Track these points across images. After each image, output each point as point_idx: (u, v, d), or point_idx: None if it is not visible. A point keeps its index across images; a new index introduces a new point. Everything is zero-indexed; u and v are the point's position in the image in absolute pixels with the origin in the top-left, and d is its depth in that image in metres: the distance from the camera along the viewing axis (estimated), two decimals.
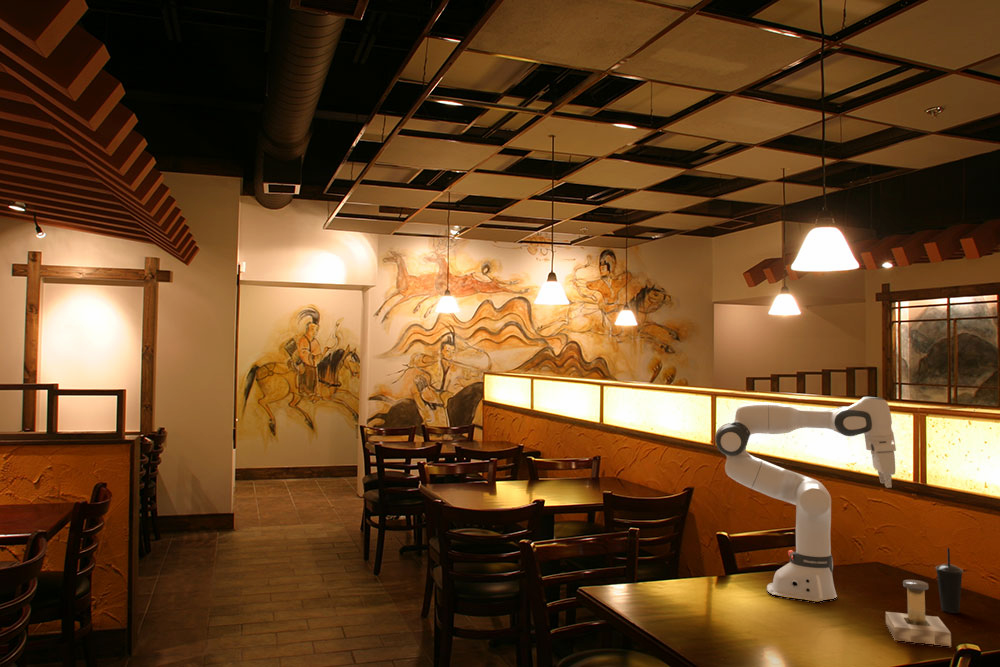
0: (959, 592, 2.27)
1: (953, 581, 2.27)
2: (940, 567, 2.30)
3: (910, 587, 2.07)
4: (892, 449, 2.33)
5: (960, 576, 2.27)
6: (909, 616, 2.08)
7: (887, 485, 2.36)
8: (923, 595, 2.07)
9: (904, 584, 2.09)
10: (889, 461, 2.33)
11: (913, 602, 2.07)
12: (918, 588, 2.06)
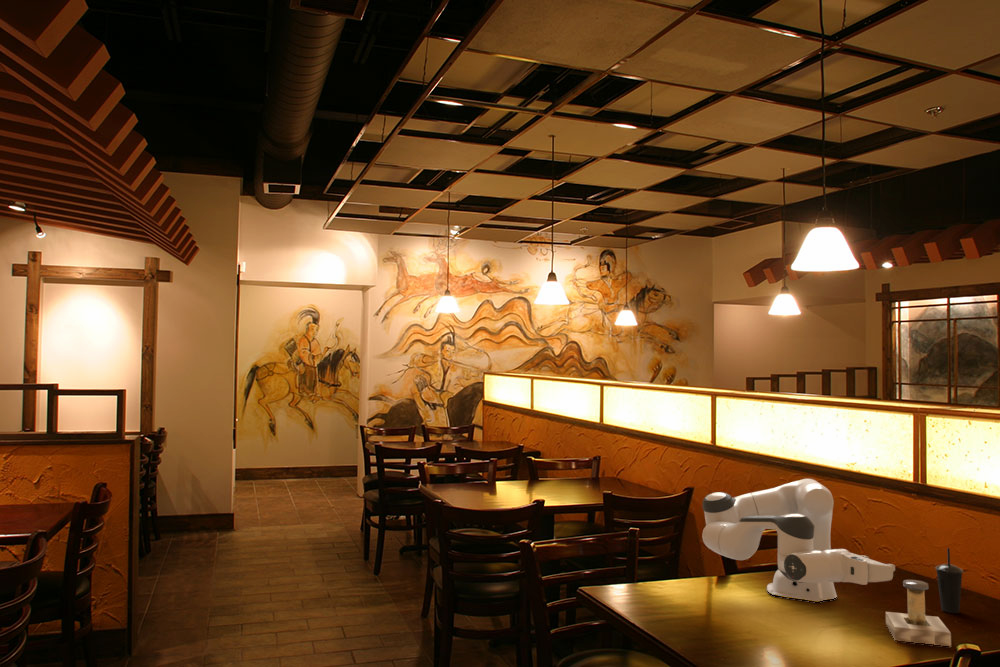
0: (959, 592, 2.27)
1: (953, 581, 2.27)
2: (940, 567, 2.30)
3: (910, 587, 2.07)
4: (866, 565, 1.94)
5: (960, 576, 2.27)
6: (909, 616, 2.08)
7: (893, 569, 2.00)
8: (923, 595, 2.07)
9: (904, 584, 2.09)
10: (880, 571, 1.94)
11: (913, 602, 2.07)
12: (918, 588, 2.06)
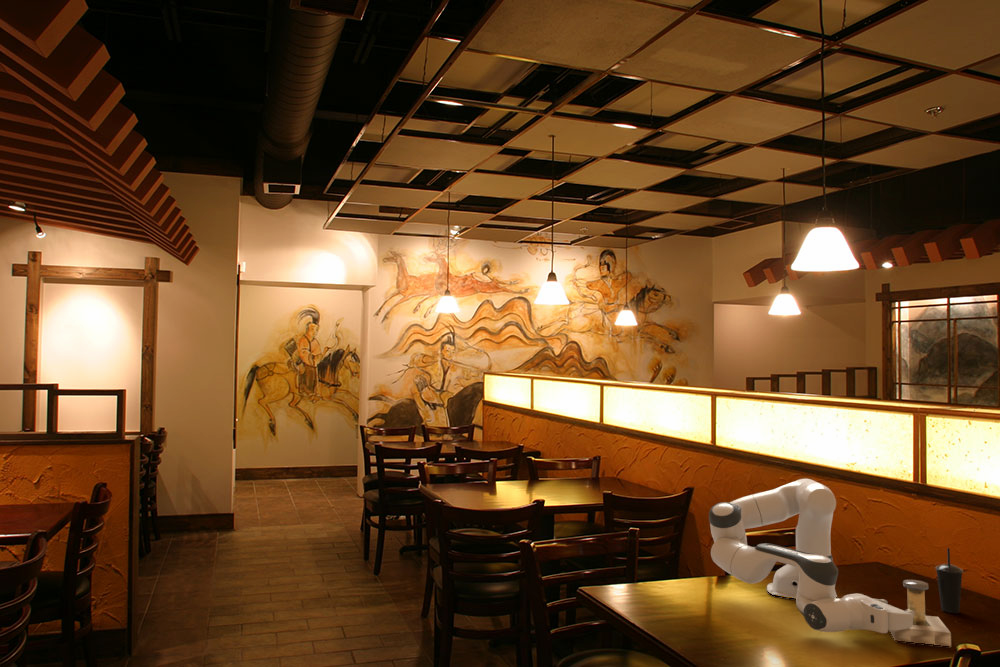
0: (959, 592, 2.27)
1: (953, 581, 2.27)
2: (940, 567, 2.30)
3: (910, 587, 2.07)
4: (886, 613, 1.95)
5: (960, 576, 2.27)
6: None
7: (912, 615, 2.01)
8: (923, 595, 2.07)
9: (904, 584, 2.09)
10: (900, 619, 1.94)
11: (913, 602, 2.07)
12: (918, 588, 2.06)
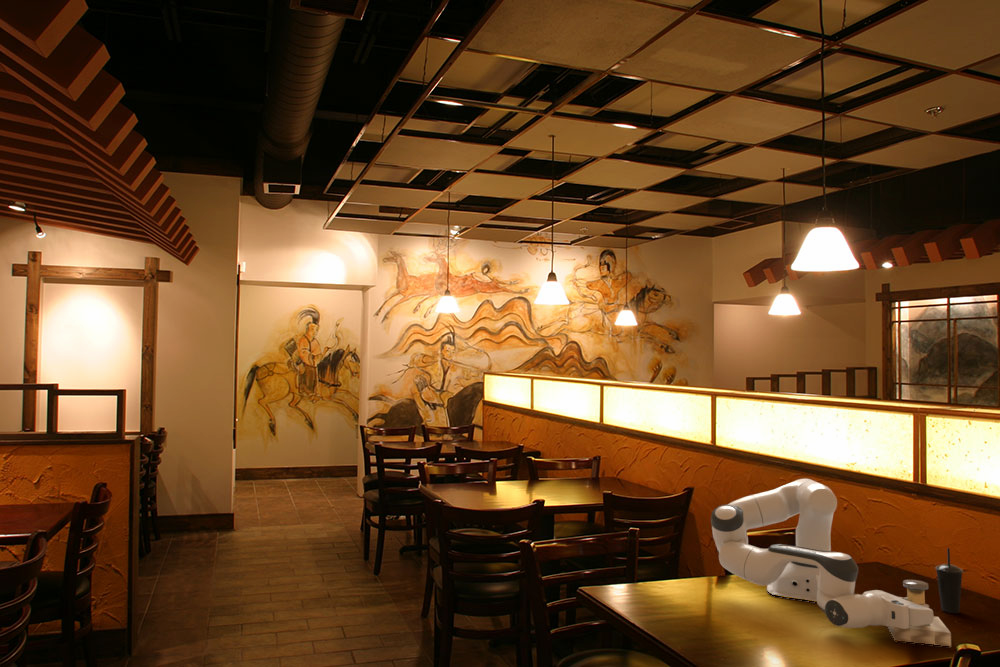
0: (959, 592, 2.27)
1: (953, 581, 2.27)
2: (940, 567, 2.30)
3: (910, 587, 2.07)
4: (907, 609, 1.97)
5: (960, 576, 2.27)
6: None
7: None
8: (923, 595, 2.07)
9: (904, 584, 2.09)
10: (921, 615, 1.97)
11: (913, 602, 2.07)
12: (918, 588, 2.06)
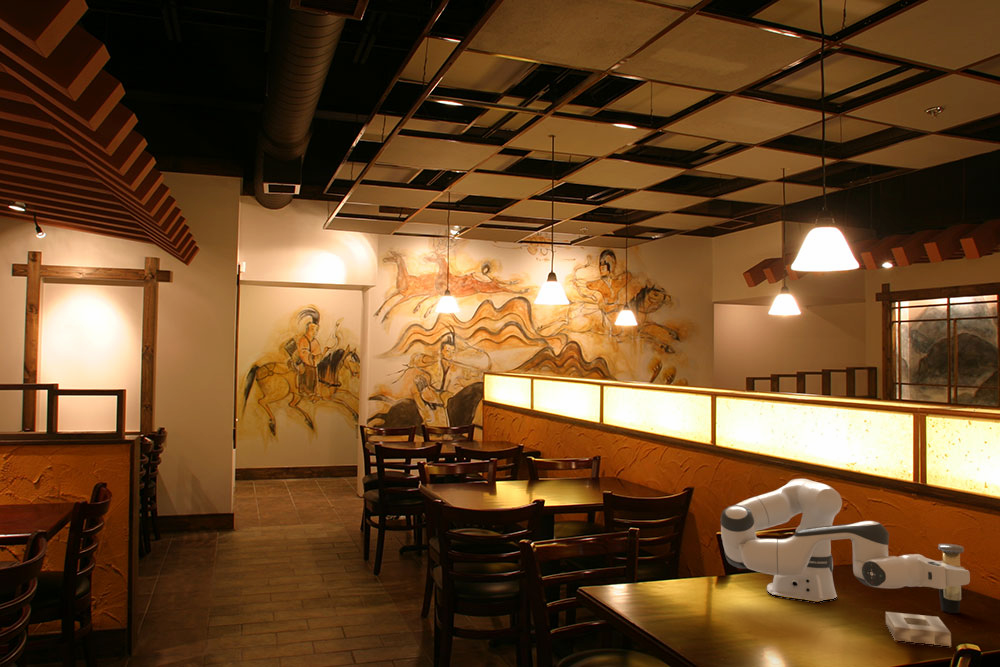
0: None
1: None
2: None
3: (946, 550, 2.11)
4: (944, 570, 2.01)
5: None
6: None
7: None
8: (958, 558, 2.11)
9: (939, 547, 2.13)
10: (958, 575, 2.01)
11: (948, 564, 2.11)
12: (954, 551, 2.10)
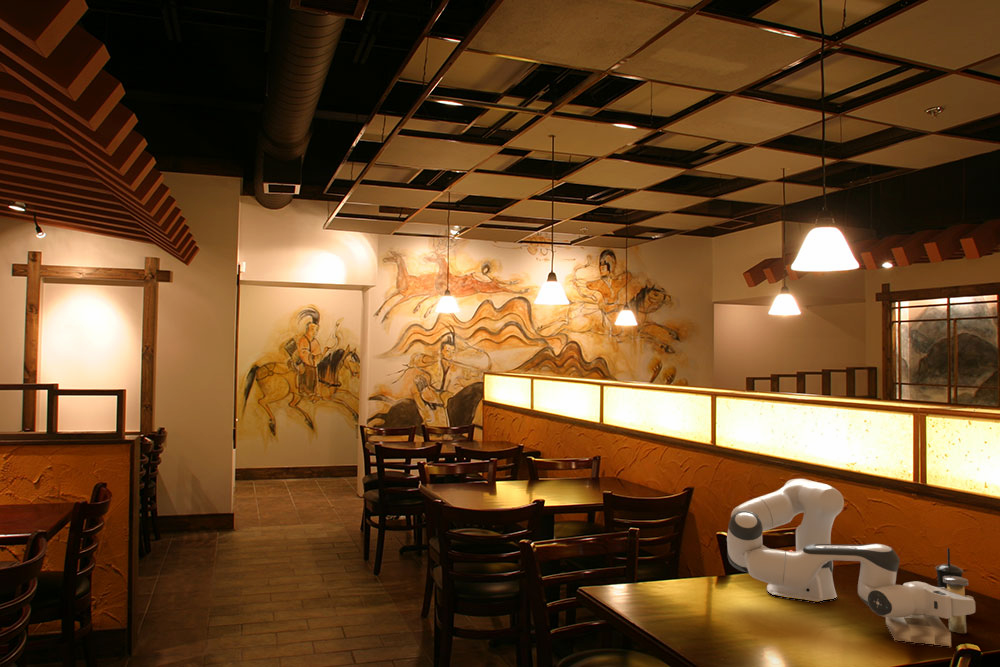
0: None
1: None
2: (940, 567, 2.30)
3: (950, 583, 2.11)
4: (950, 599, 2.01)
5: (960, 576, 2.27)
6: None
7: None
8: (963, 591, 2.11)
9: (944, 580, 2.13)
10: (964, 605, 2.01)
11: None
12: (958, 584, 2.10)
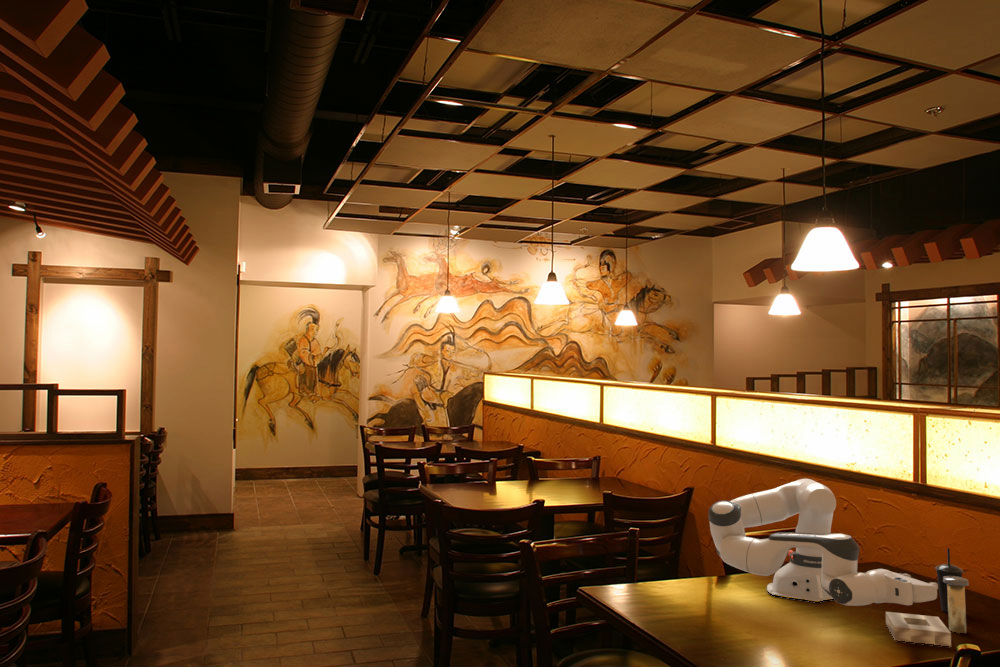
0: None
1: None
2: (940, 567, 2.30)
3: (950, 583, 2.11)
4: (911, 586, 1.99)
5: (960, 576, 2.27)
6: (949, 611, 2.12)
7: (936, 587, 2.05)
8: (963, 591, 2.11)
9: (944, 580, 2.13)
10: (925, 591, 1.98)
11: (953, 597, 2.11)
12: (958, 584, 2.10)
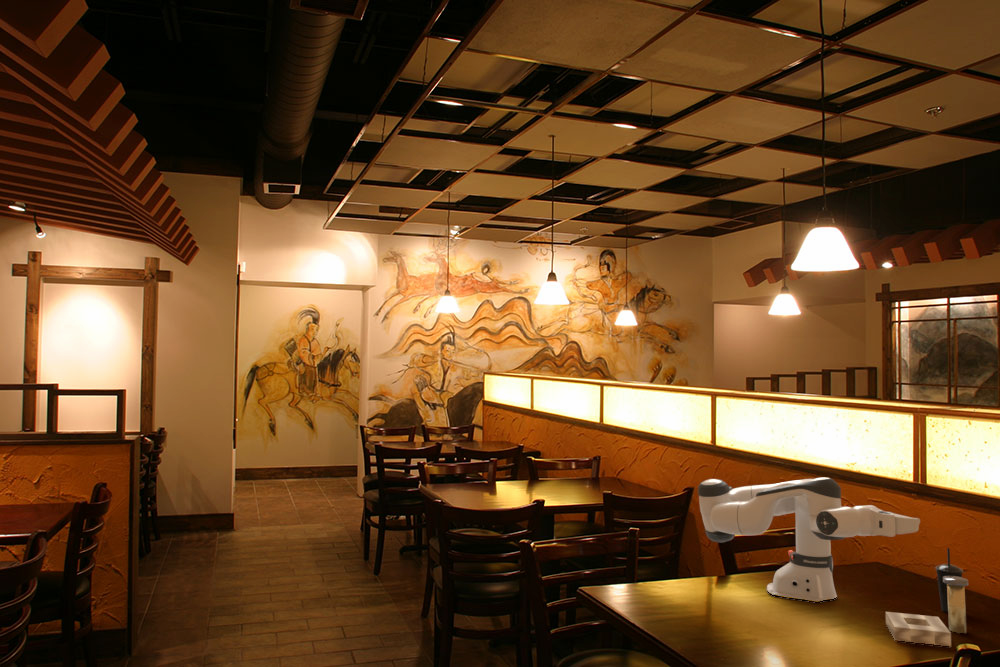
0: None
1: None
2: (940, 567, 2.30)
3: (950, 583, 2.11)
4: (894, 518, 2.08)
5: (960, 576, 2.27)
6: (949, 611, 2.12)
7: None
8: (963, 591, 2.11)
9: (944, 580, 2.13)
10: (907, 523, 2.08)
11: (953, 597, 2.11)
12: (958, 584, 2.10)
